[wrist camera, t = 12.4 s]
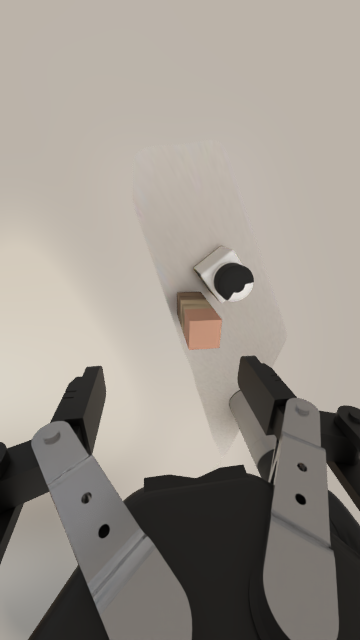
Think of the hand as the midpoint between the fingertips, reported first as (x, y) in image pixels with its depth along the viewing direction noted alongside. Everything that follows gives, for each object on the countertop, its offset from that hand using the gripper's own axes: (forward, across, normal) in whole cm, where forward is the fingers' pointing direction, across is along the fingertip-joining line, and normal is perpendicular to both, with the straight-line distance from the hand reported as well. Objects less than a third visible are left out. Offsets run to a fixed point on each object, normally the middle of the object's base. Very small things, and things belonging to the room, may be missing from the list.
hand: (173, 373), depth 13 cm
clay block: (+24, -7, +8) cm, 26 cm away
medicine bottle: (+34, -13, +1) cm, 37 cm away
